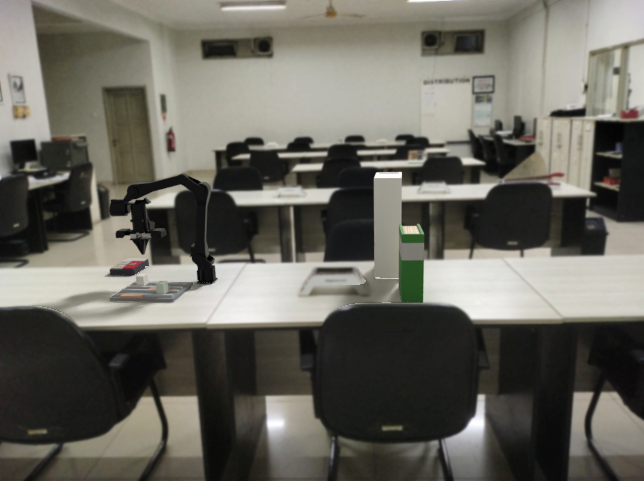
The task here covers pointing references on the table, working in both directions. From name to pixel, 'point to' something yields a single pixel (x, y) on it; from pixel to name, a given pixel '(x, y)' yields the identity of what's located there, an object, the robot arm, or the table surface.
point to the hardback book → (411, 263)
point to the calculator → (129, 266)
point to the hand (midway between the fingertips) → (143, 254)
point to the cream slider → (142, 279)
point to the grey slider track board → (151, 292)
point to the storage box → (387, 223)
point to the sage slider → (162, 287)
